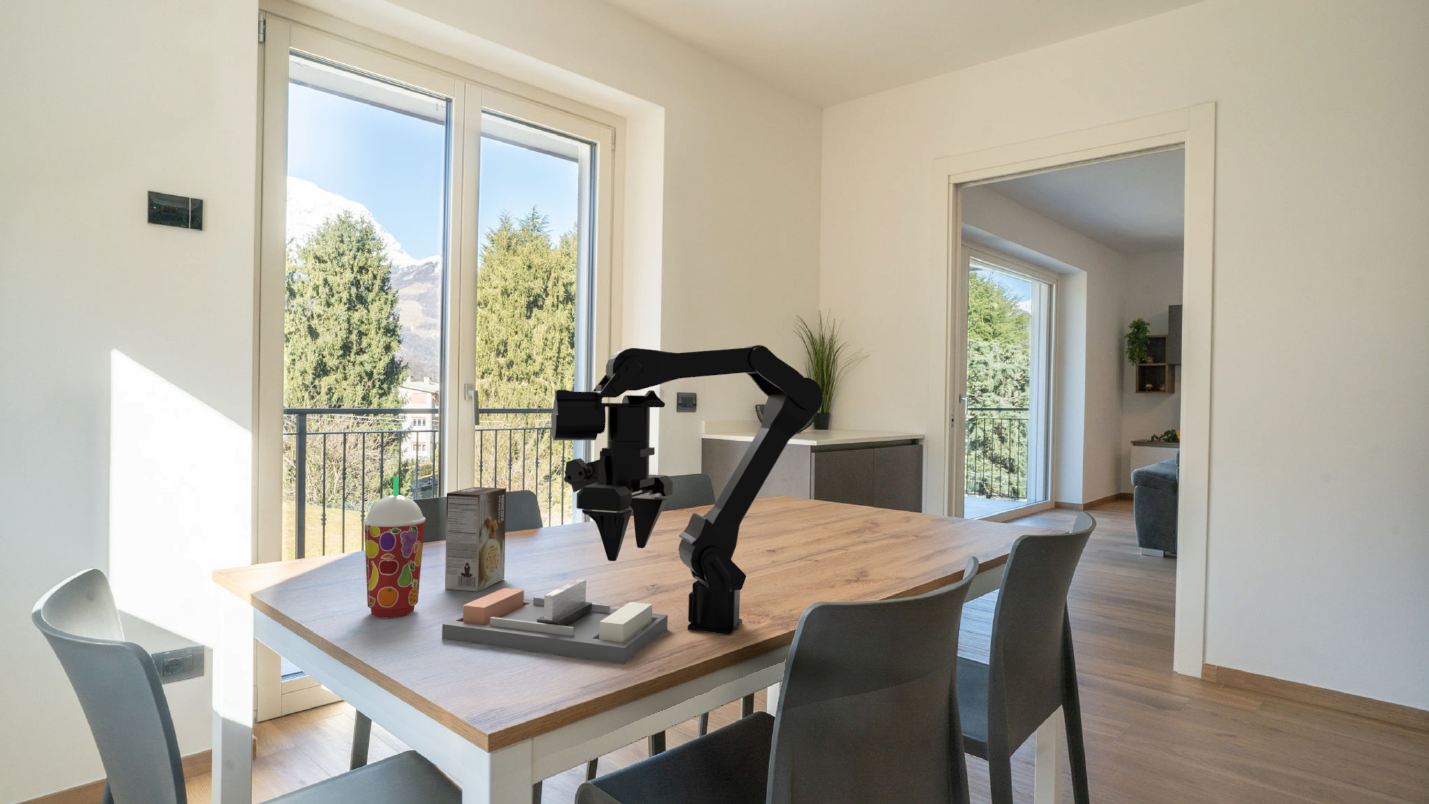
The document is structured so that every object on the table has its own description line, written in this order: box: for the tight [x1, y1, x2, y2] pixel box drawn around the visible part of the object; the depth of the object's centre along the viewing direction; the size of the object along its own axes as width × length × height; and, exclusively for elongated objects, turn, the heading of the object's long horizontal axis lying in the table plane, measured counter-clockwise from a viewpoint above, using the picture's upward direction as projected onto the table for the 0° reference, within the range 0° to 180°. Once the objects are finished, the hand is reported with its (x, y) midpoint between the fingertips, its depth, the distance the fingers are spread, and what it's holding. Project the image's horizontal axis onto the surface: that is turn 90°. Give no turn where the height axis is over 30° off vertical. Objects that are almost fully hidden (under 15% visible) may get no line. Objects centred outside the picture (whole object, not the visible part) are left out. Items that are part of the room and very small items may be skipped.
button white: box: [599, 601, 653, 643], centre depth 100 cm, size 3×10×2 cm, turn 163°
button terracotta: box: [462, 587, 525, 625], centre depth 106 cm, size 3×10×2 cm, turn 163°
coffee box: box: [444, 486, 507, 593], centre depth 129 cm, size 9×6×16 cm
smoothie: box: [363, 475, 426, 619], centre depth 111 cm, size 8×8×20 cm
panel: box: [441, 596, 669, 665], centre depth 103 cm, size 26×15×3 cm, turn 73°
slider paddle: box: [537, 578, 593, 626], centre depth 103 cm, size 3×10×4 cm, turn 163°
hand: (627, 554), depth 104 cm, fingers open, 9 cm apart
